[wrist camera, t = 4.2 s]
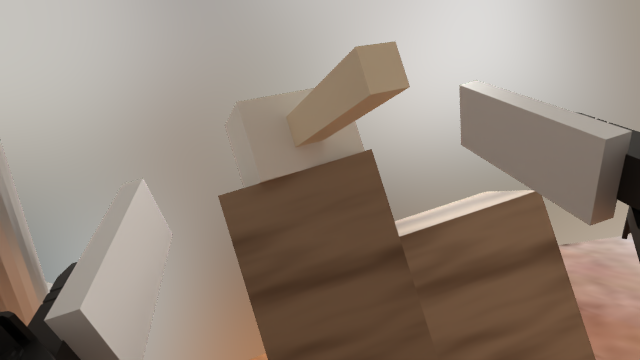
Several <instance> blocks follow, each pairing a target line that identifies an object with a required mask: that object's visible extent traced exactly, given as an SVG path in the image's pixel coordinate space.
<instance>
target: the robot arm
mask: <svg viewBox="0 0 640 360" xmlns="http://www.w3.org/2000/svg"><path fill="white" fill-rule="evenodd" d="M460 114H461V115H460V118H461V145H462V146H464V147H466V148H467V149H469V150H470V151H472V152H473V153H475V154H477V155H478V156H480V157H481V158H483V159H485V160H486V161H488V162H489V163H491V164H493V165H494V166H496V167H497V168H499V169H501V170H502V171H504V172H506V173H507V174H509V175H510V176H512V177H513V178H515V179H517V180H518V181H520V182H521V183H523V184H525V185H526V186H528V187H529V188H531V189H532V190H534V191H536V192H537V193H539V194H540V195H542V196H544V197H545V198H547V199H548V200H550V201H552V202H553V203H555V204H557V205H558V206H560V207H561V208H563V209H564V210H566V211H567V212H569V213H571V214H572V215H574V216H575V217H577V218H579V219H580V220H582V221H584V222H585V223H587V224H588V225H593V224H596V223H599V222H602V221H604V220H608V219H611V218H613V216H614V212H615V207H616V203H617V199H618V200H620V201H621V202H623V203H625V204H627V205H629V209H628V213H627V217H626V222H625V226H624V230H623V235H622V239H627V236H628V234H629V233H631V234H632V237H633V241H634V244H635V248H636V251H637V255H638V258H639V262H640V132H637V131H634V130H631V129H628V128H625V127H622V126H619V125H616V124H613V123H607V122H606V121H604V120H600V119H595V118H594V117H591V116H588V115H585V114H582V113H576V112H572V111H569V110H566V109H563V108H560V107H557V106H554V105H551V104H548V103H545V102H542V101H539V100H536V99H532V98H530V97H526V96H523V95H520V94H517V93H514V92H511V91H508V90H505V89H502V88H499V87H496V86H493V85H490V84H487V83H484V82H481V81H478V80H475V81H472V82H468V83H465V84H461V85H460ZM172 235H173V234H172V232H171V230H170V228H169V226H168V225H167V223H166V221H165V219H164V217H163V215H162V213H161V211H160V209H159V207H158V206H157V204H156V202H155V200H154V198H153V196H152V194H151V192H150V190H149V189H148V187H147V185H146V183H145V181H144V179H143V178H141V179H138V180H135V181H131V182H128V183H124V184H122V186H121V188H120V189H119V191H118V193H117V195H116V196H115V198H114V200H113V202H112V203H111V205H110V207H109V208H108V210H107V212H106V214H105V215H104V217H103V219H102V221H101V222H100V224H99V226H98V228H97V229H96V231H95V233H94V234H93V236H92V238H91V240H90V241H89V243H88V245H87V247H86V249H85V250H84V252H83V254H82V255H81V257H80V259H79V260H78V262H76V263H73V264H71V265H70V266H69V267H68V268H67V269H66V270H65V271H64V272H63V273H62V274H60V276H59V277H58V278H57V279H56V281H55V282H54V284H52V283H48V282H46V281H45V278H44V275H43V272H42V268H41V265H40V263H39V259H38V256H37V253H36V250H35V247H34V243H33V240H32V237H31V234H30V231H29V228H28V225H27V222H26V219H25V215H24V212H23V209H22V206H21V203H20V200H19V196H18V193H17V190H16V187H15V184H14V181H13V178H12V175H11V171H10V169H9V165H8V162H7V159H6V156H5V152H4V149H3V146H2V143H1V140H0V360H143V357H144V352H145V348H146V344H147V340H148V336H149V331H150V327H151V323H152V318H153V315H154V311H155V306H156V302H157V298H158V294H159V290H160V286H161V281H162V277H163V273H164V269H165V264H166V260H167V256H168V252H169V248H170V244H171V240H172Z"/></svg>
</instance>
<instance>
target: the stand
mask: <svg viewBox="0 0 640 360" xmlns="http://www.w3.org/2000/svg"><path fill="white" fill-rule="evenodd" d="M218 197H219V200H220V203H221V207H222V210H223V213H224V217H225V219H226V223H227V226H228V230H229V233H230V236H231V239H232V242H233V246H234V249H235V253H236V256H237V259H238V262H239V266H240V269H241V272H242V275H243V279H244V282H245V285H246V289H247V292H248V295H249V299H250V302H251V305H252V308H253V312H254V315H255V318H256V321H257V325H258V328H259V331H260V334H261V338H262V341H263V344H264V348H265V351H266V354H267V358H268V360H596V359H595V356H594V353H593V350H592V347H591V344H590V341H589V338H588V335H587V332H586V329H585V326H584V323H583V320H582V317H581V314H580V311H579V308H578V305H577V302H576V298H575V295H574V292H573V289H572V286H571V283H570V280H569V277H568V274H567V271H566V268H565V265H564V262H563V259H562V256H561V253H560V250H559V247H558V244H557V241H556V237H555V234H554V231H553V228H552V225H551V222H550V219H549V216H548V213H547V210H546V207H545V204H544V201H543V198H542V195H540V194H539V193H537V192H536V191H534V190H522V191H497V192H496V191H494V192H483V193H480V194H477V195H474V196H471V197H468V198H465V199H462V200H459V201H456V202H453V203H450V204H447V205H444V206H441V207H438V208H434V209H432V210H429V211H425V212H422V213H419V214H416V215H413V216H410V217H407V218H404V219H401V220H398V221H395V222H394V218H393V215H392V212H391V209H390V206H389V203H388V200H387V196H386V193H385V190H384V187H383V184H382V181H381V177H380V174H379V171H378V168H377V165H376V162H375V159H374V155H373V152H372V150H371V149H370V150H367V151H364V152H360V153H357V154H354V155H351V156H347V157H344V158H341V159H338V160H334V161H331V162H328V163H324V164H321V165H318V166H315V167H311V168H308V169H305V170H302V171H298V172H295V173H292V174H289V175H285V176H282V177H279V178H275V179H272V180H269V181H266V182H262V183H259V184H256V185H252V186H249V187H246V188H243V189H239V190H236V191H233V192H230V193H226V194H223V195H220V196H218Z"/></svg>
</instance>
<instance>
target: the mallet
mask: <svg viewBox="0 0 640 360" xmlns="http://www.w3.org/2000/svg"><path fill="white" fill-rule="evenodd" d="M408 87H410V86H409V83H408V80H407V76H406V74H405V70H404V67H403V64H402V61H401V58H400V55H399V52H398V48H397V45H396V42H388V43H380V44H373V45H365V46H358V47H355V48H354V49H353V50H352V51H351V52H350V53H349V54H348V55H347V56H346V57H345V58H344V59H343V60H342V61H341V62H340V63H339V64H338V65H337V66H336V67H335V68H334V69H333V70H332V71H331V72H330V73H329V74H328V75H327V76H326V77H325V78H324V79H323V80H322V81H321V82H320V83H319V84H318V85H317V86H316V87H315V88H311V89H306V90H300V91H295V92H289V93H284V94H279V95H273V96H267V97H261V98H256V99H250V100H244V101H239V102H236V104H235V106H234V108H233V110H232V112H231V114H230V116H229V118H228V120H227V122H226V124H225V128H226V132H227V135H228V138H229V141H230V145H231V148H232V151H233V154H234V158H235V161H236V164H237V167H238V170H239V174H240V177H241V180H242V184H243V187H244V188H246V187H249V186H252V185H256V184H259V183H262V182H266V181H269V180H272V179H275V178H279V177H282V176H285V175H289V174H292V173H295V172H298V171H302V170H305V169H308V168H311V167H315V166H318V165H321V164H324V163H328V162H331V161H334V160H338V159H341V158H344V157H347V156H351V155H354V154H357V153H360V152H364V147H363V144H362V141H361V138H360V135H359V132H358V128H357V125H356V122H355V120H357V119H359V118H360V117H362V116H363V115H365V114H367V113H368V112H370V111H372V110H373V109H375V108H376V107H378V106H380V105H381V104H383V103H384V102H386V101H388V100H389V99H391V98H392V97H394V96H395V95H397V94H399V93H401V92H402V91H404V90H405V89H407V88H408Z"/></svg>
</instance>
